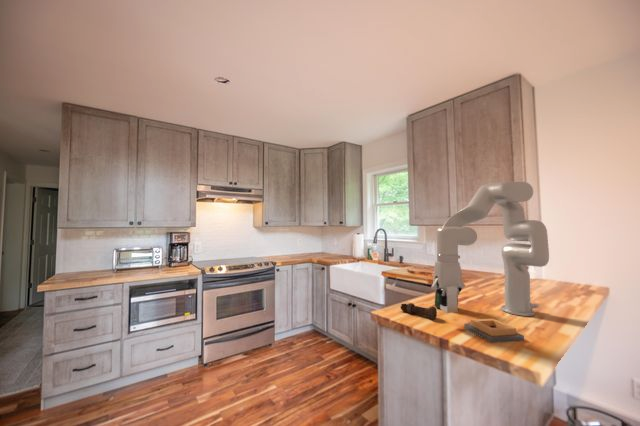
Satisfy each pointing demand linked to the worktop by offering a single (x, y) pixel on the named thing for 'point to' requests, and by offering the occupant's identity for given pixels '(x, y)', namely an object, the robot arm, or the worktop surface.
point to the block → (450, 300)
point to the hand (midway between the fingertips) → (448, 304)
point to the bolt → (420, 310)
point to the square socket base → (494, 330)
